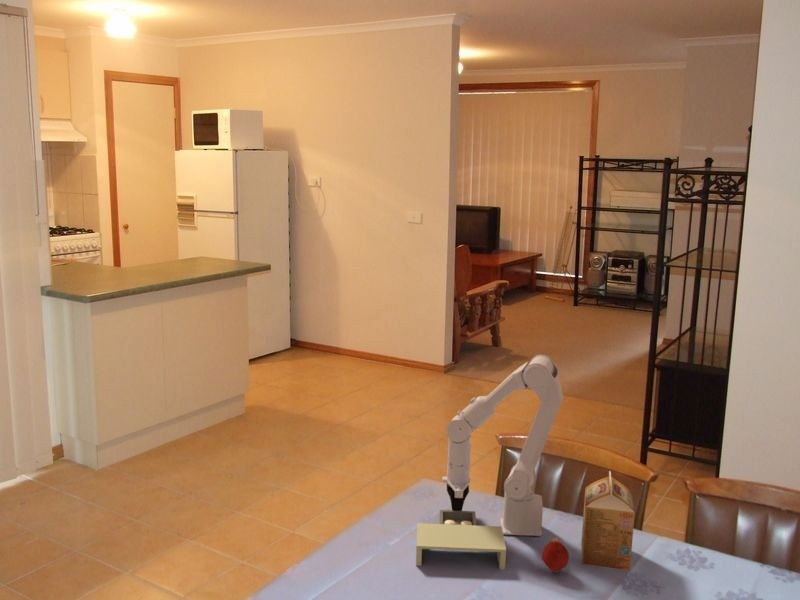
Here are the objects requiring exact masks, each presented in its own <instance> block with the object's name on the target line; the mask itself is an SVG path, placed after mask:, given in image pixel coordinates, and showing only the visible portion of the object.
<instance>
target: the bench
mask: <svg viewBox="0 0 800 600" xmlns="http://www.w3.org/2000/svg"><path fill="white" fill-rule="evenodd" d="M416 528H417V529H416V552H415V553H416V555H415V557H416V558H415V566H417V567H422V558H423V557H422V555H423V554H422V553H423V552H422V551H423V550H444V551H446V550H447V551H448V550H449V551H450V550H451V551H468V552H470V551H471V552H473V551H474V552H490V553H491V552H493V553H494V552H495V553H496V555H497V561H498V566H499V570H506V559H507V547H506V543H505V538H504V534H503V531H502V527H501V525H500V526H499V525H496V526H495V525H477V524H476V525H451V524H439V523H426V522H424V523H423V522H418V523H417V524H416Z"/></svg>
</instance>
